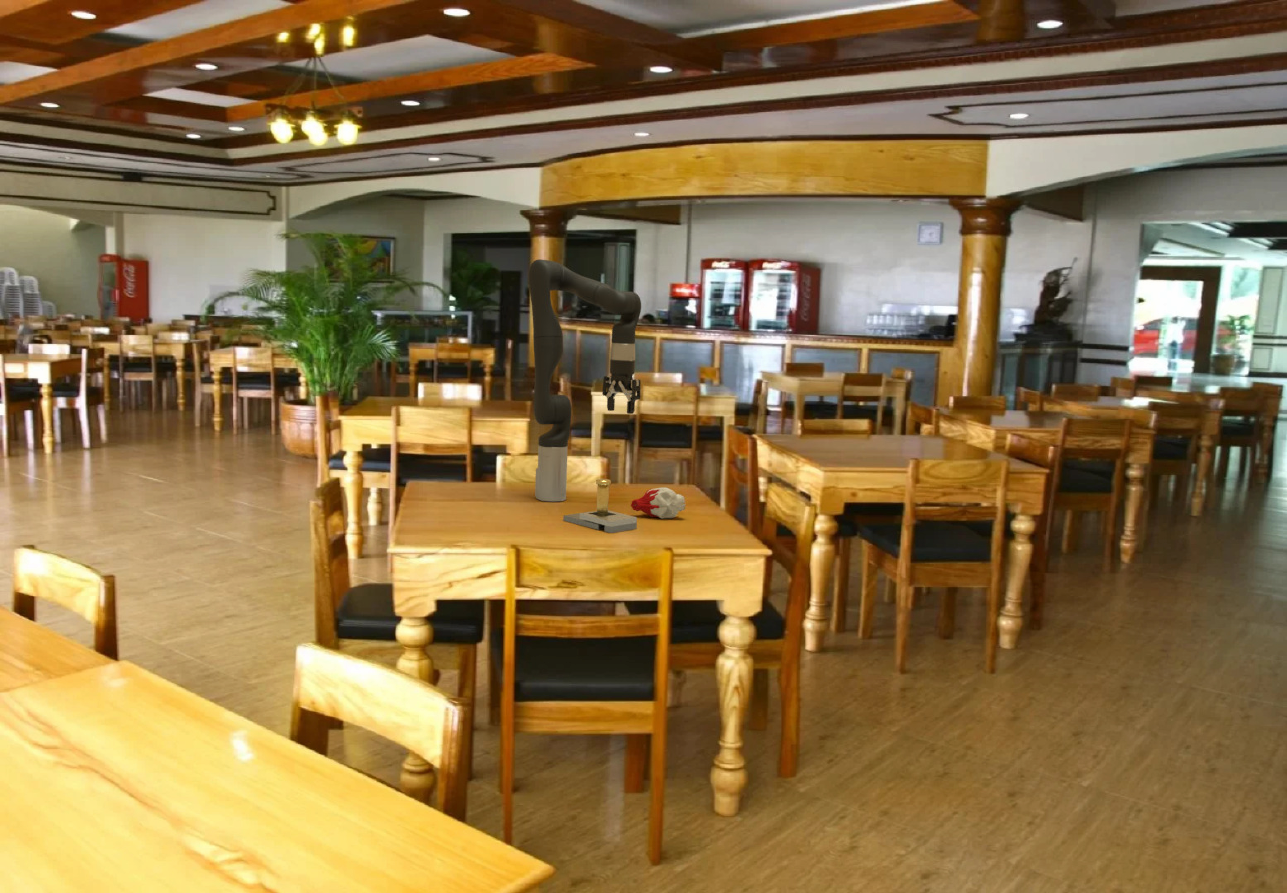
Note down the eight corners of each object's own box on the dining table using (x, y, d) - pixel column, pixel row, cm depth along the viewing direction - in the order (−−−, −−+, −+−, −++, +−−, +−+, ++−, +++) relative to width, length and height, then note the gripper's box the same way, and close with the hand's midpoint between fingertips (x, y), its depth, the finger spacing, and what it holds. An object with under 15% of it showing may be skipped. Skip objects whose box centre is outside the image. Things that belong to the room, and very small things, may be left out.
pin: (591, 524, 306) (592, 479, 304) (602, 523, 309) (603, 478, 307) (601, 527, 303) (602, 482, 302) (612, 525, 306) (613, 480, 304)
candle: (687, 518, 318) (638, 525, 315) (675, 510, 329) (628, 517, 325) (685, 488, 317) (636, 495, 313) (673, 481, 327) (626, 488, 324)
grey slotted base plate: (563, 520, 310) (563, 509, 310) (589, 516, 317) (589, 505, 317) (610, 533, 296) (610, 521, 296) (636, 528, 303) (636, 517, 303)
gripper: (597, 356, 325) (595, 410, 328) (630, 360, 315) (627, 415, 318) (615, 356, 331) (613, 409, 333) (648, 360, 321) (645, 414, 323)
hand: (620, 412), depth 325 cm, fingers open, 8 cm apart
